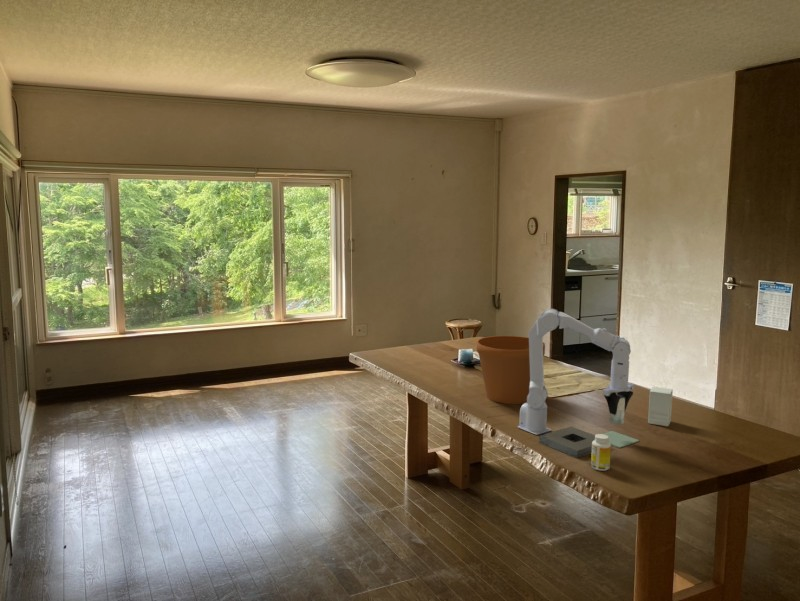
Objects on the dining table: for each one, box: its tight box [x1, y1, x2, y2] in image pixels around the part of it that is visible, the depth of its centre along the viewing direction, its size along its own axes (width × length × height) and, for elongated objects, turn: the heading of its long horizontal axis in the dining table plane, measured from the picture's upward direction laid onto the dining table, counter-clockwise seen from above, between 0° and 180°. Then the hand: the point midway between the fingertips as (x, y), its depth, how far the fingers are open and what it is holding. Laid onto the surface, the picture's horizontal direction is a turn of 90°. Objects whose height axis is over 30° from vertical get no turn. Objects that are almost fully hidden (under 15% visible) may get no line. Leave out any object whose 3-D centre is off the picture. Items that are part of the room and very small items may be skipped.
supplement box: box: [647, 386, 674, 427], centre depth 233 cm, size 7×7×13 cm
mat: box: [603, 430, 640, 449], centre depth 216 cm, size 11×11×1 cm
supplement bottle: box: [590, 433, 612, 472], centre depth 192 cm, size 6×6×10 cm
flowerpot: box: [476, 335, 546, 405], centre depth 262 cm, size 28×28×24 cm
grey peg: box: [609, 395, 626, 425], centre depth 214 cm, size 4×4×9 cm
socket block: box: [538, 426, 609, 459], centre depth 211 cm, size 16×16×2 cm
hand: (617, 412), depth 215 cm, fingers closed on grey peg, 4 cm apart
